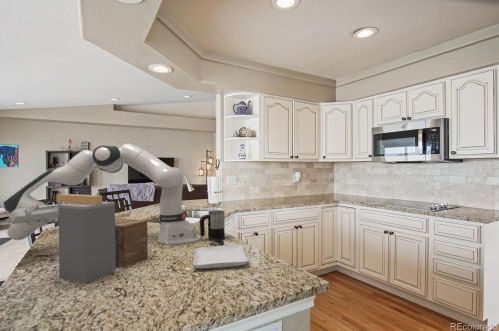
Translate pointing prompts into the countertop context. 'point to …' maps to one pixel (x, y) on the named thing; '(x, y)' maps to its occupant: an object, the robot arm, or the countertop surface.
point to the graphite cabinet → (86, 241)
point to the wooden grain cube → (130, 241)
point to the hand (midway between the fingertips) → (49, 204)
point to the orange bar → (79, 199)
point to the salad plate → (219, 257)
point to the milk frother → (214, 226)
